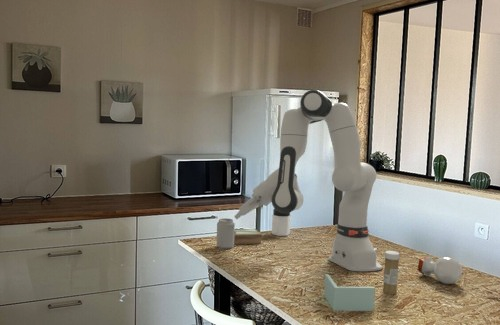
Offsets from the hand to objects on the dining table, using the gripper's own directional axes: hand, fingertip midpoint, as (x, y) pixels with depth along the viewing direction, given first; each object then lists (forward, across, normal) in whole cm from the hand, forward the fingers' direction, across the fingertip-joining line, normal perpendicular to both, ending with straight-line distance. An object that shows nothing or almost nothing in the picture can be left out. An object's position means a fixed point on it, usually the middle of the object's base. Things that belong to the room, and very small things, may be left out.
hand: (238, 216), depth 198 cm
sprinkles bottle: (-33, -33, -53) cm, 71 cm away
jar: (0, +33, -18) cm, 37 cm away
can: (+14, +1, -6) cm, 15 cm away
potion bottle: (-46, -14, -65) cm, 81 cm away
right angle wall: (-23, -46, -45) cm, 68 cm away
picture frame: (+9, +14, -10) cm, 19 cm away
